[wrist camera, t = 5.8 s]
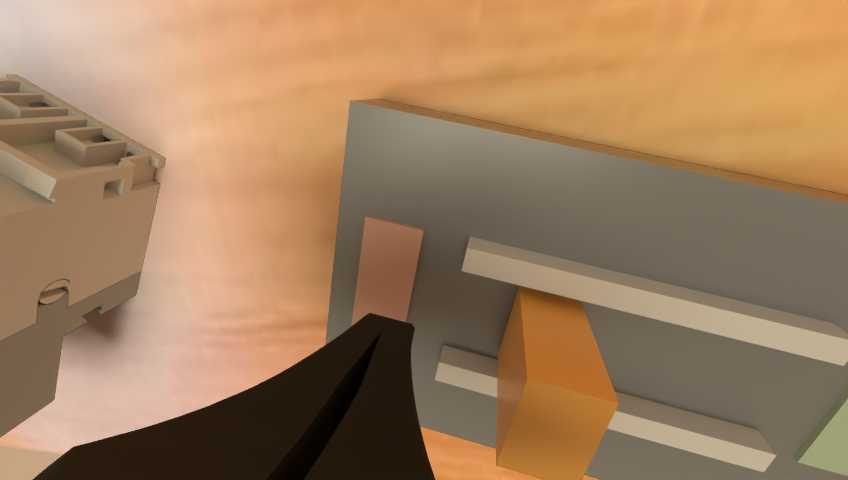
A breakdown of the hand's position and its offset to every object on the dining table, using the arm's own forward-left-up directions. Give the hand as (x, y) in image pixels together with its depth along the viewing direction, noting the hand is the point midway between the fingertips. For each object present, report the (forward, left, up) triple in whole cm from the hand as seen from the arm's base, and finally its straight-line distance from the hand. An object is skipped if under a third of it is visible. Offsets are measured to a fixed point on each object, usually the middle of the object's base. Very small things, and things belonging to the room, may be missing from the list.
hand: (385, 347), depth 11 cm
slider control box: (-7, 0, -6) cm, 9 cm away
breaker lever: (-5, 0, -3) cm, 5 cm away
